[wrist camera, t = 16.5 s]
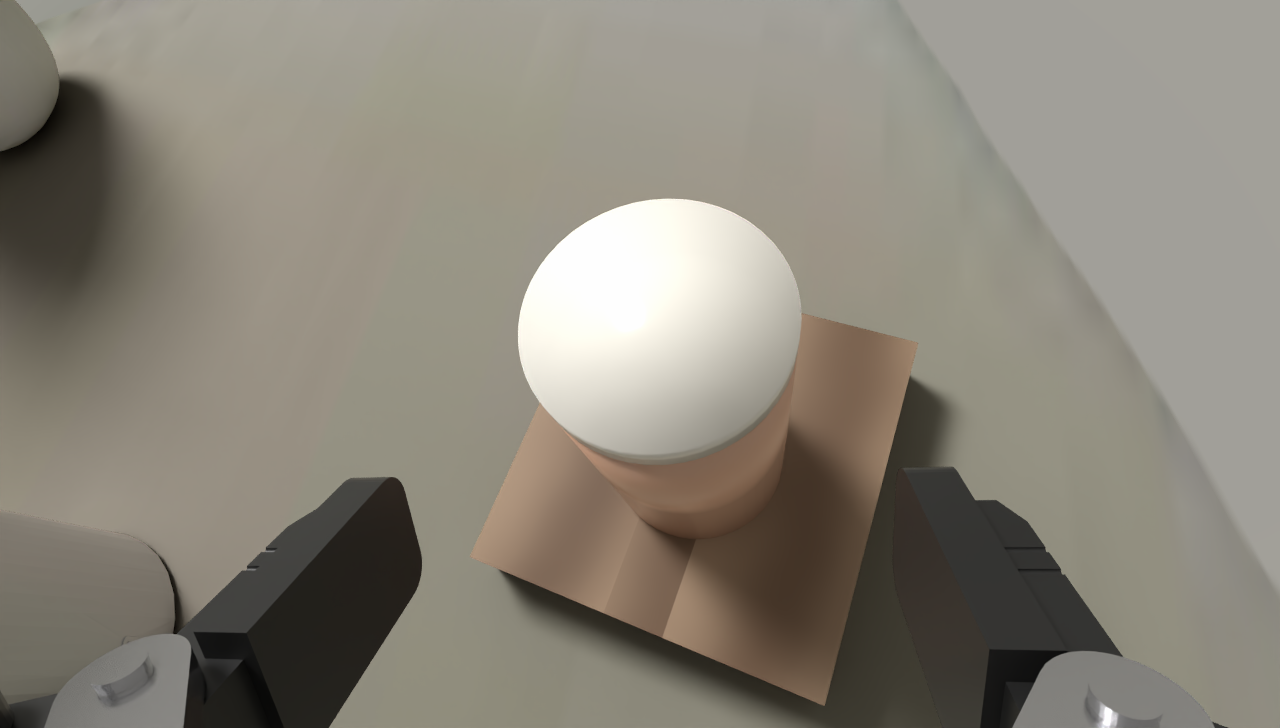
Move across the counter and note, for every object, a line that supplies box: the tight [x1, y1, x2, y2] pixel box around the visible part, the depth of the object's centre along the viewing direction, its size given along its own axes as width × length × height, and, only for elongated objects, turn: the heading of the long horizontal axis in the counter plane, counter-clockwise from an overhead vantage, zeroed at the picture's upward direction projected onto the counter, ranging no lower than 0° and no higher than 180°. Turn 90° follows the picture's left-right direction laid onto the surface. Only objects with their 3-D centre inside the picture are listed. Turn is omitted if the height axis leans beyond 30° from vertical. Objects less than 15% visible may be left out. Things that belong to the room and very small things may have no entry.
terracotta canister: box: [518, 199, 802, 539], centre depth 18 cm, size 6×6×10 cm
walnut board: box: [470, 313, 918, 706], centre depth 24 cm, size 12×12×2 cm
